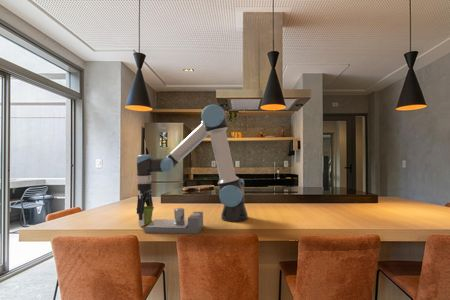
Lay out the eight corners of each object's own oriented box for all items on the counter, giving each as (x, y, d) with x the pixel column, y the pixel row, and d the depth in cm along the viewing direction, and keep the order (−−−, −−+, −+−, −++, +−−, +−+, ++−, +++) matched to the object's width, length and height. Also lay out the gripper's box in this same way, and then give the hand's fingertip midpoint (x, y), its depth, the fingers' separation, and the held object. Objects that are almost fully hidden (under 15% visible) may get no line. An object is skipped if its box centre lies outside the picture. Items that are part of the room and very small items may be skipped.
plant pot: (151, 225, 167) (151, 209, 167) (134, 226, 168) (134, 210, 167) (156, 221, 177) (155, 205, 176) (139, 221, 177) (139, 206, 177)
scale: (203, 226, 165) (202, 210, 165) (198, 233, 152) (197, 217, 152) (154, 225, 168) (153, 210, 168) (145, 232, 156) (144, 216, 155)
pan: (191, 221, 165) (191, 219, 165) (186, 227, 153) (186, 226, 153) (155, 220, 168) (155, 219, 168) (147, 227, 156) (147, 225, 156)
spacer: (181, 220, 163) (181, 207, 163) (186, 222, 159) (185, 209, 159) (173, 222, 160) (172, 209, 160) (177, 224, 156) (177, 210, 156)
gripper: (145, 180, 183) (146, 217, 184) (128, 186, 160) (130, 228, 161) (158, 180, 182) (159, 217, 183) (142, 186, 159) (144, 228, 160)
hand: (145, 222), depth 172 cm, fingers open, 10 cm apart
